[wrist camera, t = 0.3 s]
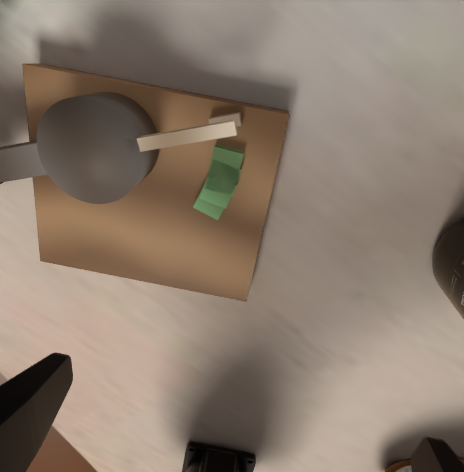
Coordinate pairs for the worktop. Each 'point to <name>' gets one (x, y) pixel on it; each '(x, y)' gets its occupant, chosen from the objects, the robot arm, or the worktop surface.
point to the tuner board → (165, 191)
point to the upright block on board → (98, 146)
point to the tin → (403, 466)
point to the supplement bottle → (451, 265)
